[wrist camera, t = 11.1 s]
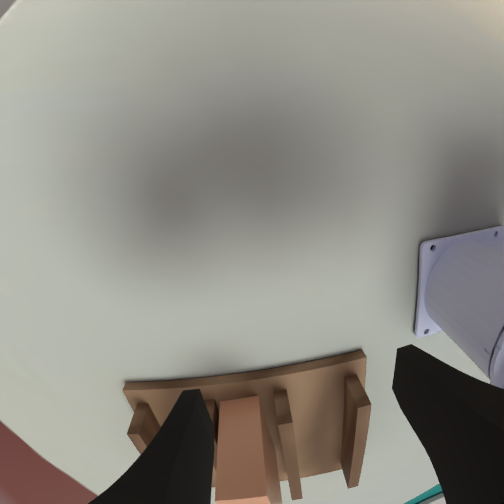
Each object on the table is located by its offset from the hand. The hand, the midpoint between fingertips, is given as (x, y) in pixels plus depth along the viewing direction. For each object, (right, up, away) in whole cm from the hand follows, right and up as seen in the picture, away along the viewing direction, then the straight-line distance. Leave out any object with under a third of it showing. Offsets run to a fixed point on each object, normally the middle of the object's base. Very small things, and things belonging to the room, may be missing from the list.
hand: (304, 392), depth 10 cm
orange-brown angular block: (-2, -10, +13) cm, 16 cm away
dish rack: (-2, -12, +14) cm, 19 cm away
